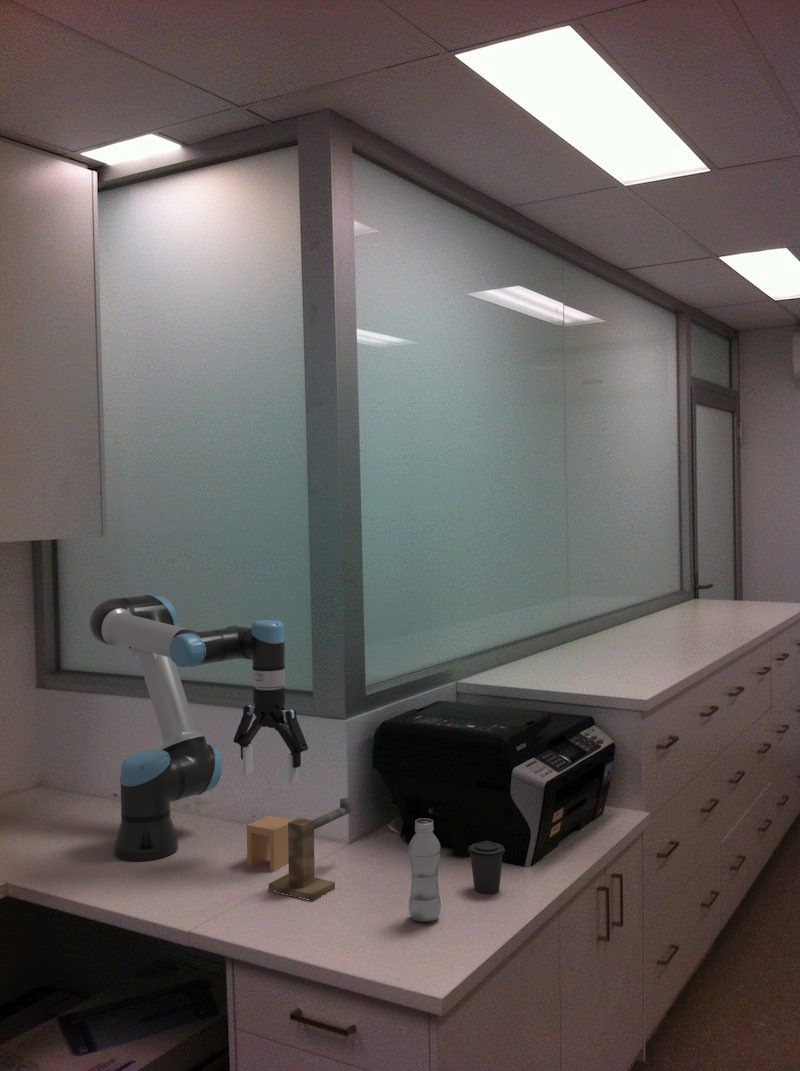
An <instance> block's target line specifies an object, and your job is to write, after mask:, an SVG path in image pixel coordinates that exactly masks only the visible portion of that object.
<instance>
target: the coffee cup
mask: <svg viewBox="0 0 800 1071" xmlns="http://www.w3.org/2000/svg"><path fill="white" fill-rule="evenodd" d="M468 851H469V852H470V856H469V857H470V861H471V870H472V878H473V879H472V880H473V887H474V892H475V893H477V894H479V895H483V896H484V895H485V896H488V895H490V896H492V895H496V894H497V893H499V892H500V885H501V878H502V877H501V876H502V867H503V866H502V865H503V856H504V853H505V852H506V849H505V847H504V846H503V845H502V844H500V843H497V842H493V841H490V840H484V841H479V842H478V843H474V844H472V845H470V846H469V848H468Z"/></svg>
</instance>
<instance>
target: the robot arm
mask: <svg viewBox="0 0 800 1071" xmlns="http://www.w3.org/2000/svg"><path fill="white" fill-rule="evenodd" d="M89 618H90V619H89V629H90V632H91V634H92V636H93V637H94V638H95V639H96V640H98V642H101V643H102V644H104V645H108V646H112V647H120V646H123V645H124V646H127V647H128V648H129V652H130V653H131V654H134V655H136V656H137V657H138V661H139V664H140V668H141V670H142V674H143V677H144V681H145V683H146V687H147V690H148V693H149V696H150V697H149V698H150V702H151V703H152V704H151V705H152V707H153V711H154V714H155V717H156V721H157V724H158V727H159V731H160V734H161V737H162V740H163V744H162V746H161V748H160V749H151V750H143V751H140V752H136V753H134V754H132V755H129V756H128V757H126V758H125V759H124V760H123V762H122V763H121V766H120V776H119V782H120V816H121V821H120V825H119V828H118V832H117V836H116V839H115V842H114V848H113V849H114V850H113V851H114V852H113V853H114V855H115V857H116V858H118V859H120V860H125V861H129V862H130V861H132V862H142V861H143V862H145V861H151V860H152V861H153V860H158V859H159V860H160V859H163V858H166V857H168V856H171V855H173V854H175V853H176V852H177V851H178V850H179V837H178V835H177V833H176V830H175V826H174V823H173V821H172V817H171V802H172V803H173V802H175V801H179V800H182V799H186V798H189V797H193V796H199V795H202V794H204V793H206V792H209V791H211V790H213V789H215V788H216V787H217V785H218V784H219V783H220V781H221V780H220V779H221V777H222V774H223V759H222V755H221V753H220V752H219V749H218V748H216V746H215V745H213V744H210V743H207V741H206V737H205V735H203V734H202V733H200V732H198V731H197V729H196V725H195V722H194V719H193V716H192V712H191V709H190V706H189V702H188V699H187V696H186V692H185V689H184V686H183V684H182V683H183V682H182V680H181V676H180V673H179V671H178V667H179V668H186V667H187V668H188V667H189V668H193V667H194V668H195V667H197V666H201V665H207V664H213V663H214V664H215V663H219V662H227V661H233V660H240V659H242V660H250V661H252V666H251V667H252V686H253V687H254V688H253V690H252V703H253V704H251V703H250V704H248V705H247V704H246V705H244V706H243V711H242V716H241V720H240V722H239V724H238V726H237V730H236V732H235V735H234V737H233V740H232V741H233V743H234V744H238V745H239V747H240V758H241V760H242V774H243V776H247V775H249V774H250V775H251V774H252V773H253V772H254V762H253V761H254V759H253V758H254V757H253V756H254V755H253V754H254V753H253V752H254V751H253V748H254V746H253V744H252V741H253V739H254V738H255V736H257V734H258V732H259V731H260V730H261V728H267V727H268V728H270V729H275V731H277V733H278V734H279V735H280V737H281V739H282V740H283V741H284V743H285V745H286V747H287V749H289V751H290V753H288V783H290V784H291V783H295V782H297V781H299V776H300V774H299V768H300V767H301V765H302V760H301V759H302V756H301V755H302V753H303V752H305V751H307V750H309V746H308V743H307V741H306V739H305V736H304V734H303V730H302V729H301V726H300V723H299V721H298V718H297V711H296V709H295V708H293V709H289V710H288V709H287V710H286V709H285V703H286V688H285V687H284V686H285V685H286V664H285V662H286V661H285V660H286V658H285V656H286V655H285V653H286V652H285V651H286V648H285V643H286V642H285V641H286V637H285V628H284V627H285V626H284V623H283V622H282V621H280V620H276V619H275V620H273V619H272V620H270V619H265V620H264V619H263V620H262V619H261V620H255V621H253V622H252V624H251V627H246V626H239V625H226V626H223V627H221V628H220V629H211V630H206V631H205V630H204V631H203V630H202V631H196V630H193V629H188V628H184V627H182V626H178V625H177V622H178V615H177V612H176V609H175V607H174V606H173V604H172V603H171V602H170V600H169V599H168V598H166V597H164V596H162V595H151V594H145V595H139V596H130V597H129V596H128V597H119V598H116V597H115V598H110V599H106V600H105V601H102V602H101V603H99V604H98V605H97V606H96V607H95V608H94V609H93V611H92V613H91V614H90V616H89ZM177 666H178V667H177ZM254 715H255V719H254V720H253V717H254ZM252 720H253V721H252Z"/></svg>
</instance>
